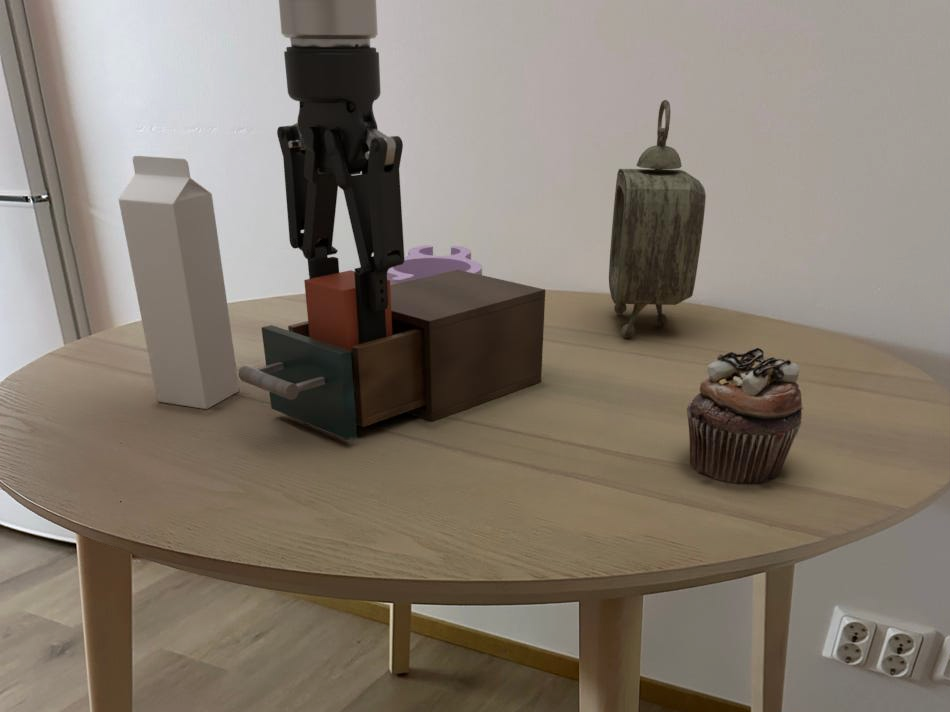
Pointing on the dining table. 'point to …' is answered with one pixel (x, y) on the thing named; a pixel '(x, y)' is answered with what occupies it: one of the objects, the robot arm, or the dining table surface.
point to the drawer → (341, 377)
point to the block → (336, 309)
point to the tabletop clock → (655, 231)
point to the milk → (179, 283)
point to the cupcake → (745, 418)
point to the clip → (432, 264)
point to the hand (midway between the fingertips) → (351, 337)
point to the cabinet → (472, 337)
